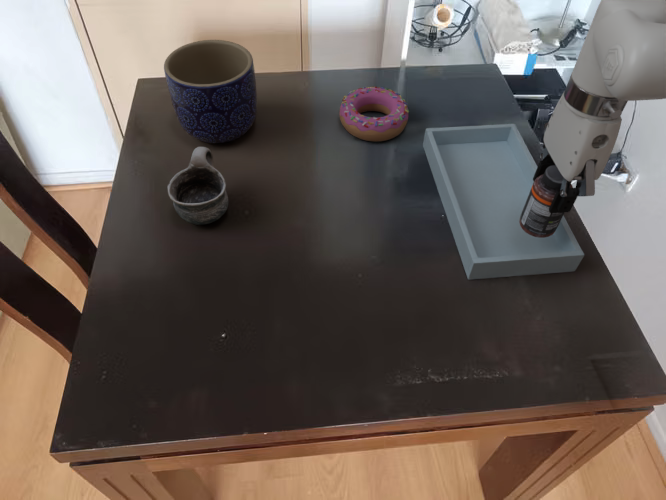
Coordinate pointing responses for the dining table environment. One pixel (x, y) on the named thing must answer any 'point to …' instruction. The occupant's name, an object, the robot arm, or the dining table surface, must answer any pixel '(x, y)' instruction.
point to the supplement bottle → (542, 205)
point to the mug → (199, 190)
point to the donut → (374, 101)
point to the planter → (212, 89)
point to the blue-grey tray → (493, 202)
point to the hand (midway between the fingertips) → (550, 194)
